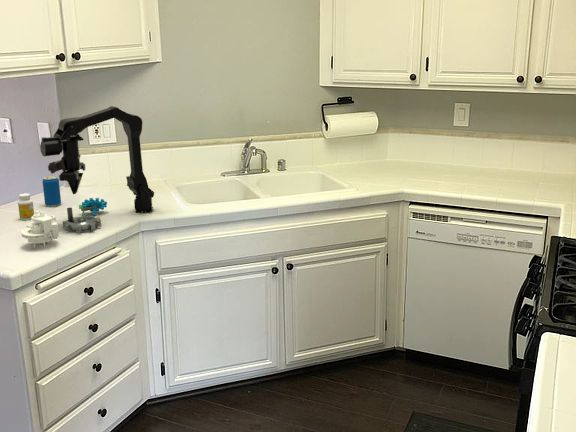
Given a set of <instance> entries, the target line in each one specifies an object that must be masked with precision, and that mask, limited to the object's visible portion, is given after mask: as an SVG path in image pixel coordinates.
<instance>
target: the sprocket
mask: <svg viewBox="0 0 576 432" xmlns="http://www.w3.org/2000/svg"><path fill="white" fill-rule="evenodd" d="M66 211H67V214H66V215H67V220H62V228H63V229H64V231H65V232H76V233H82V231H84V232H88V231H91V232H93V231H96V229H97V228H99V227H102V220H101V217H99V216H98V217H96V216H89V215H84V216H83V215H82V216H76V217H74V214H73V208H72V207H67V208H66Z"/></svg>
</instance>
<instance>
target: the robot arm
mask: <svg viewBox="0 0 576 432" xmlns="http://www.w3.org/2000/svg"><path fill="white" fill-rule="evenodd" d="M112 119H115V120H116V121H118V122H121V124H122V128H123V131H124V132H125V134H126V137H127V145H128V146H127V147H128V155H129V163H130V164H129V165H130V174H129V175H128V176H127V175H126V176H125V177H126V183H127V184H126V187H128V189H129V191H131V192H132V194H133V195H134V196H135V199H134V200H133V202H134V205H133V206H134V210H135V213H137V214H138V213H152V212H153V209H154V206H153V198H154V196H155V191H154V190H152V189H151V188H150V187H149V184H148V180H147V177H146V176H145V173H144V172H143V171H144V169H143V160H142V159H143V158H142V149H141V148H142V147H141V140H140V138H141V134H142V131H143V119H142V118H141V117H140V116H139V115H137V114H136V115H135V114H133V113H128V112H126V111H123V110H122V109H120V107H116V106H113V105H112V106H109V107H107V108H103V109H101V110H98V111H96V112H95V111H94V112H92V113H89V114H86V115H83V116H80V117H79V116H77V117H68V118H67V117H66V118H63V119H61V120H60V121H59V122H58V126H57V130H56V131H55V132H54V134H53V136H50V137H48V136H47V137H41V139H40V145H39V147H40V148H39V150H40V154H41V156H42V157H49V156H51V157H52V156H59V155H61V153H62V156H61V159H60V160H57V161H52V162H49V164H48V165H47V168H48V169H47V170H48V171H49V172H50V174H51V175H52V174H55V173H56V172H59V171H61V173H60V174H59V175H58V179H59V182H60V181H61V182H65V181H66V182H67V183H68V185H69V188H70V190H71V192H72V194H73V195H76V194H77V193H78V189H79V187H80V184H81V181H82V179H83V175H84V172H85V171H86V164H85V163H84V162H82V161H81V160H80V158H81V154H80V149H79V142H81V141H84V138H83V137H82V136H81V135H80V133H81V132H83V131H84V130H86V129H87V128H89V127H92V126H95V125H98V124H101V123H104V122H107V121H109V120H112ZM80 170H82V171H83V172H80Z"/></svg>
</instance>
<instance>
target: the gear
mask: <svg viewBox="0 0 576 432" xmlns="http://www.w3.org/2000/svg"><path fill="white" fill-rule="evenodd" d="M88 199H89V200H88ZM88 199H87V198H86V199H84V201H82V202H81V204H79V205H78V209H79V210H81V212H82V214H81V215H82V216H85V212H87V211H89V212H93V216H92V217H96V216H97V212H99V211H100V210H101V211H103V210H105V208H107V205H108V202H107V201H105V199H103V198H101V199H100V198H99V197H95V199H93V197H89V198H88Z"/></svg>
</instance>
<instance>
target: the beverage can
mask: <svg viewBox="0 0 576 432" xmlns="http://www.w3.org/2000/svg"><path fill="white" fill-rule="evenodd" d="M60 187H61V186H60V179H59V177H58V175H48V176H43V179H42V188H43V189H42V190H43V199H44V205H45V206H47V207H54V208H55V207H58V205H59V206H60V205H61V204H62V198H61V197H62V196H61V188H60Z"/></svg>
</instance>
